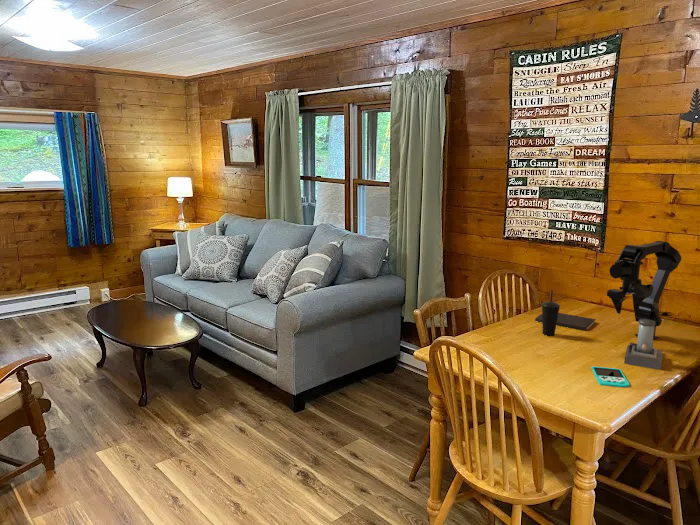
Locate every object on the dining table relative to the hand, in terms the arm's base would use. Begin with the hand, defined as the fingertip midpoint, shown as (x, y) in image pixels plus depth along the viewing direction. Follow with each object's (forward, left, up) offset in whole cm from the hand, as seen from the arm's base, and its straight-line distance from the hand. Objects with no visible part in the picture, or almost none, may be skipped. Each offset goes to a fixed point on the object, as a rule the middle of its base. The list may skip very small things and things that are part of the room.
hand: (627, 312), depth 224 cm
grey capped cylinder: (+12, +20, -10) cm, 25 cm away
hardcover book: (+3, -31, -14) cm, 34 cm away
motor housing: (+8, +16, -13) cm, 22 cm away
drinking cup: (+23, -19, -13) cm, 33 cm away
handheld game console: (+35, +26, -14) cm, 46 cm away
